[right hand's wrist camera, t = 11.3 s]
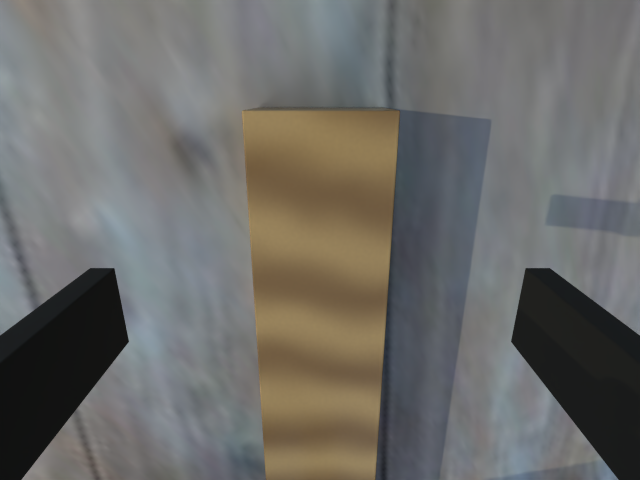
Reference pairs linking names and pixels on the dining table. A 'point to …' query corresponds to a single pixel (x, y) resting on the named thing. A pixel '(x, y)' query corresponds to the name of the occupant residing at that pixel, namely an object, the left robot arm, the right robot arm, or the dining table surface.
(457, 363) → the dining table surface
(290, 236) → the wooden beam
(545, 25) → the dining table surface
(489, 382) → the dining table surface
